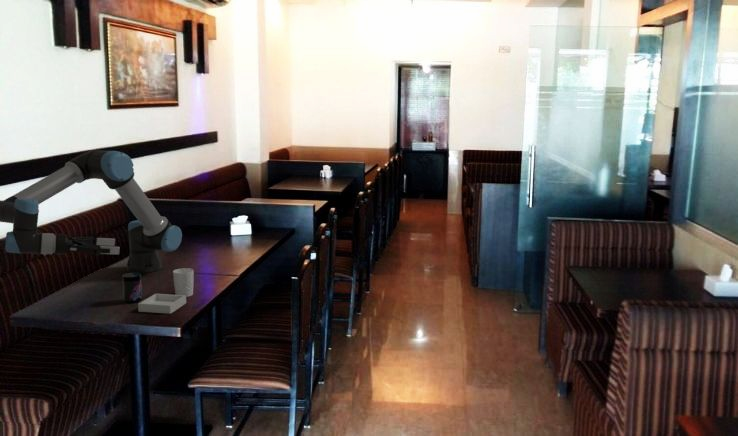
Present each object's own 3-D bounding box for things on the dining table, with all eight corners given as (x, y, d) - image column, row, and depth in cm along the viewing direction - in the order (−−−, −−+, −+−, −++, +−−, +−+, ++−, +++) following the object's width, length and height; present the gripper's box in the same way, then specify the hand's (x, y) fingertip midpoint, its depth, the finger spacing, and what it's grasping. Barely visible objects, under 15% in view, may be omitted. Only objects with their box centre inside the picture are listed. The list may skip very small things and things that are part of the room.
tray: (138, 311, 228) (138, 303, 227) (155, 301, 240) (155, 293, 239) (170, 313, 226) (170, 305, 225) (186, 302, 238) (185, 295, 237)
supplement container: (126, 304, 235) (124, 278, 234) (121, 300, 241) (120, 274, 239) (144, 301, 239) (143, 275, 237) (139, 297, 245) (138, 271, 243)
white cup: (187, 290, 253) (185, 267, 252) (198, 294, 249) (197, 270, 247) (170, 295, 247) (168, 271, 246) (181, 299, 243) (180, 274, 241)
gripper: (52, 246, 237) (112, 248, 247) (55, 262, 215) (120, 264, 226) (54, 226, 236) (113, 229, 246) (56, 241, 214) (122, 244, 225)
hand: (117, 246), depth 236 cm, fingers open, 13 cm apart
